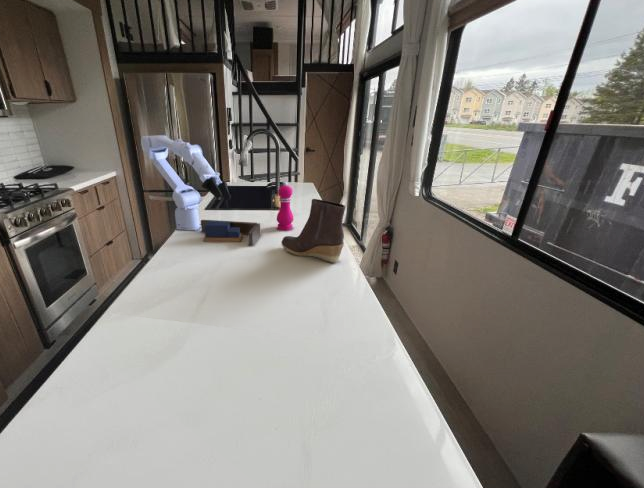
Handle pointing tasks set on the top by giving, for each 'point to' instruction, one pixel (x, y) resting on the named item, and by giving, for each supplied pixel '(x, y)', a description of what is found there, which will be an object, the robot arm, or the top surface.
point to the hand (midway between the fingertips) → (224, 198)
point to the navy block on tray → (242, 229)
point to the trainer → (221, 232)
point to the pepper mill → (285, 208)
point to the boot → (320, 232)
